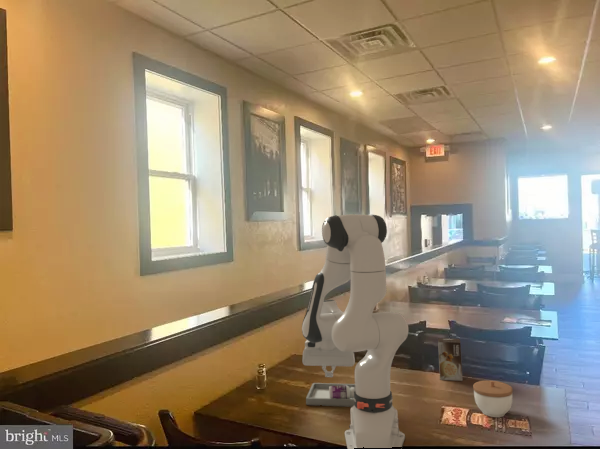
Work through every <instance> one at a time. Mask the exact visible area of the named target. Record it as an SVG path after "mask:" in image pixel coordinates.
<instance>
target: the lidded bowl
mask: <svg viewBox="0 0 600 449" xmlns="http://www.w3.org/2000/svg"><path fill="white" fill-rule="evenodd" d="M472 387H473V396H474V402H475V404H476V406H477V408H478V409H479V410H480V411H481V412H482V414H483V415H484V416H487V417H491V418H502V417H504V416H505V414H507V413H508V412H509V411H510V409H511V407H512V405H513V392H514V391H513V387H512V386H511V385H509V384H507V383H505V382H502V381H498V380H479V381H476V382H475V383H473V385H472Z"/></svg>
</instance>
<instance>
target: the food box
mask: <svg viewBox="0 0 600 449" xmlns="http://www.w3.org/2000/svg"><path fill="white" fill-rule="evenodd" d="M437 340H438V341H437V343H438V344H437V346H438V349H437V350H438V366H439V368H438V369H439V371H438V372H439V380H440V381H458V382H459V381H460V382H463V380H464V379H463V364H462V362H463V361H462V348H461V345H462V344H461V338H448V337H447V338H446V337H445V338H443V337H441V338H440V337H438V338H437Z"/></svg>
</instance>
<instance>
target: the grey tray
mask: <svg viewBox="0 0 600 449" xmlns="http://www.w3.org/2000/svg"><path fill="white" fill-rule="evenodd" d="M330 386H349V388H351V387H354V388H355V383H331V382H329V383H326V382H323V383H322V382H312V384H311V386H310V389H309V390H308V393H307V395H306V398H305V405H306V406H320V405H322V407H323V406H327V407H346V408H347V407H350V408H352V407H353V406H354V398H353V399H352V398H350V399H334V398H330V396H329V387H330Z"/></svg>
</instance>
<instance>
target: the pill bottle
mask: <svg viewBox="0 0 600 449" xmlns="http://www.w3.org/2000/svg"><path fill="white" fill-rule="evenodd" d="M354 391H355V388H354V387H351V388H349V386H330V387H329V396H330V398H334V399H350V398H352V399H353V398H354Z"/></svg>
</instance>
